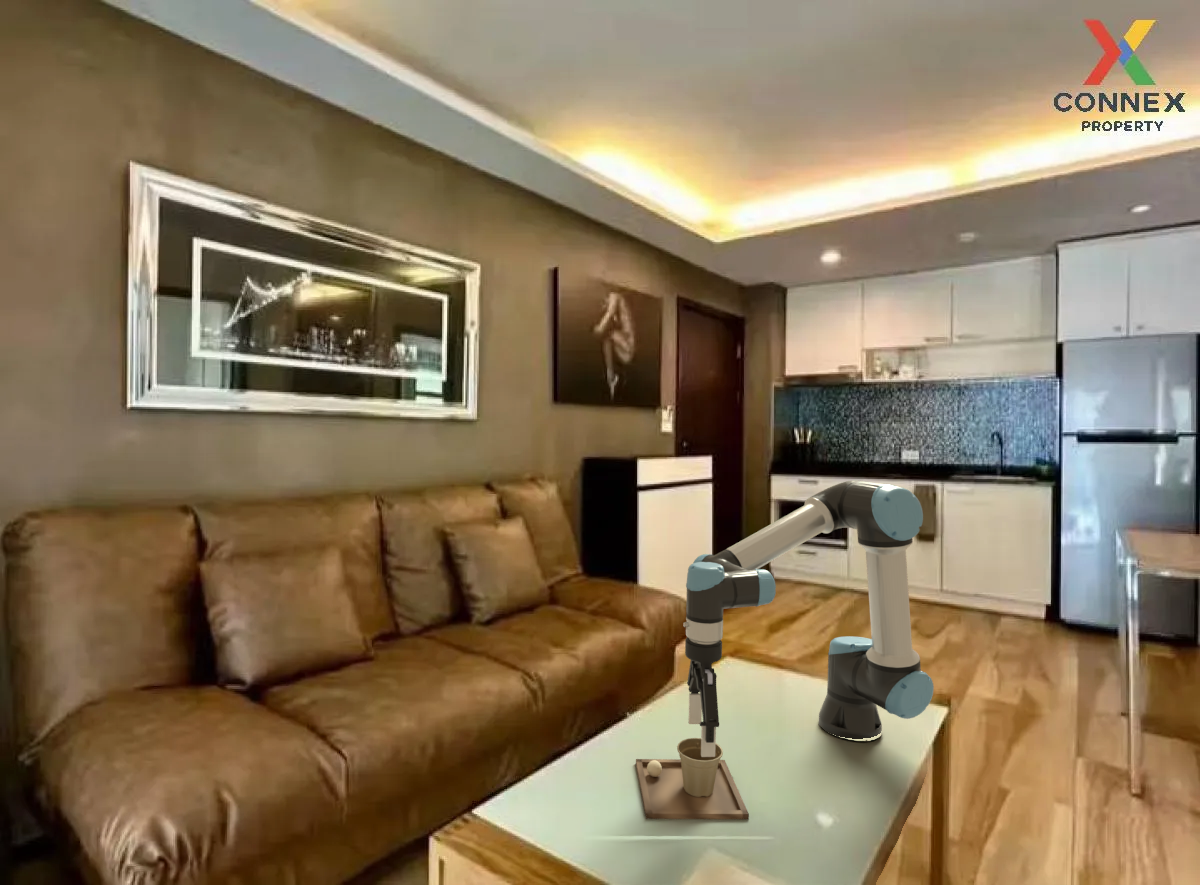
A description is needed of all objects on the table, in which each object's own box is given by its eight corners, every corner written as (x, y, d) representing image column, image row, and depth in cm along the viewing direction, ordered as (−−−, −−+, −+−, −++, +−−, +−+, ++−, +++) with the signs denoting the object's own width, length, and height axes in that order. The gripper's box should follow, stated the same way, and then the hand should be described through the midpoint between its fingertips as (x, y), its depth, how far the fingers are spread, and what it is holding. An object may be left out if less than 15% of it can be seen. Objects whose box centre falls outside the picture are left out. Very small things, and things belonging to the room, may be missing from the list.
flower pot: (720, 806, 130) (722, 763, 130) (673, 798, 132) (675, 757, 132) (721, 780, 140) (723, 741, 139) (677, 774, 141) (679, 735, 141)
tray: (724, 766, 146) (724, 759, 146) (748, 821, 126) (748, 814, 126) (635, 765, 145) (635, 759, 145) (646, 821, 125) (646, 813, 125)
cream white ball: (660, 771, 142) (661, 757, 142) (662, 780, 139) (663, 765, 139) (645, 771, 142) (646, 757, 142) (647, 779, 139) (648, 765, 139)
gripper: (676, 619, 147) (673, 711, 148) (697, 661, 122) (694, 771, 123) (708, 619, 147) (706, 711, 148) (737, 661, 122) (733, 771, 123)
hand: (701, 739), depth 136 cm, fingers open, 13 cm apart
